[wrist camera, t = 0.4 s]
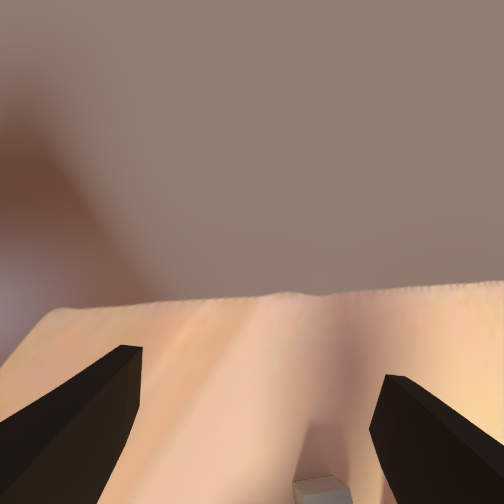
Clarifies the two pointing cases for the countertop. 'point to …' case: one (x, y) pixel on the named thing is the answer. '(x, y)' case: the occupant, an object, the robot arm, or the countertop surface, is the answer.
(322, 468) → the countertop surface
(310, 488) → the slate block
